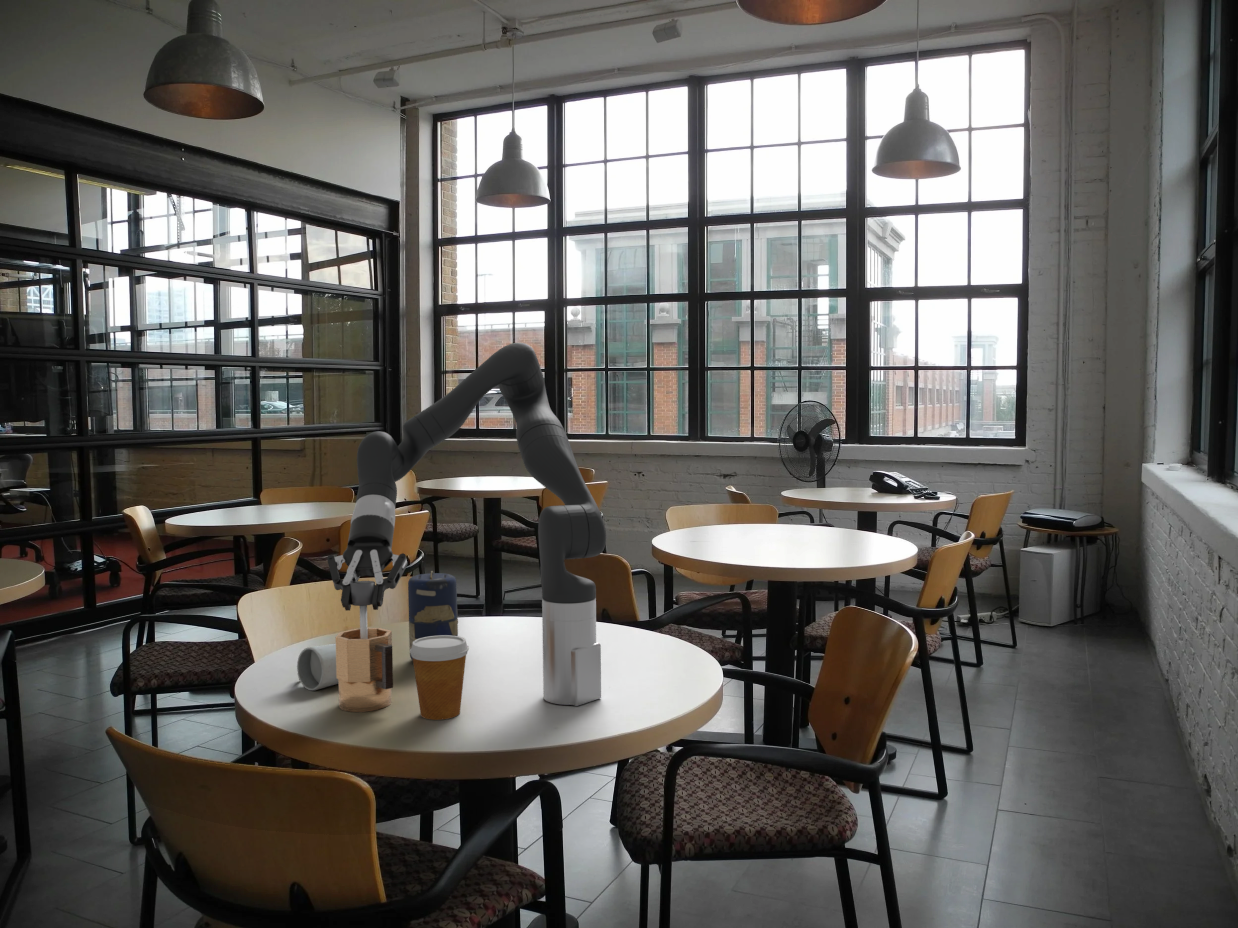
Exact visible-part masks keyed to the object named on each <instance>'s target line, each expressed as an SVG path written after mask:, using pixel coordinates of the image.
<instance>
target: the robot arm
mask: <svg viewBox="0 0 1238 928" xmlns="http://www.w3.org/2000/svg"><path fill="white" fill-rule="evenodd" d="M539 362H540V361H539V360H538V357H537V354H536V352H535V350H534V348H533V347H532V345H529V344H527V343H526V342H525V343H524V342H513V343H509V344H507V345H505V346H503V347H502V348H500V349H498V350H497V351H496V352H494V353H492V355H491V356H489V357H488V358H487V359H486V360H485V361H483V362H482V363H481V364H480V365H479V366H478V367H477V368H475V369H474V370H473V371H472V372H470V374H468V376H466V377H465V378H464V380H462V381H461V382H460V383H459V384H458V385H456V386H455V387H454V388H453V389H452V390H450V391H449V392H448V393H447V394H446V395H444V396H443V397H442V398H440V399H438V400H437V401H436V402H435V403H433V404H431V405H429V406H428V407H427V408H425V409H423V410H422V411H420V412H417V414H414V416H412V417H410V418H409V419H408V420H407V421H406V420H405V422H404V423H403V425H402V432H403V433H402V434H403V439H402V440H401V442H400V443H399V445H397V442H396V441H395V440H394V438H393V437H392V435H390V434H389V433H387V432H385V431H379V430H377V431H373V432H370V433H368V434H367V435H366V436H364V438H362V440H361V442H360V443H359V445H358V447H357V453H356V466H357V469H356V470H357V479H358V490H357V494H356V500H355V506H354V508H353V512H352V516H351V518H350V528H349V534H348V538H347V539H348V540H347V546H346V549H345V550H344V551H343V553H342V555H338V556H334V555H333V554H330V555H327V557H326V559H327V564H328V568H329V571H330V576H331V581H332V583H333V587H334V589H335V590H336V591H341V596H340V597H341V598H340V602H341V606H342V608H344V611H345V612H346V611H351V609H352V608H351V607H352V605H351V585H350V583H352V582H356V581H360V577H365V576H368V577H374V580H375V586H374V592H373V599H372V605H371V606H372V610H374V611H379V608H380V607H382V606H383V603H384V595H385V592H386V590H388V589H390V590H394V589H396V587H397V585H398V583H399V581H400V579H401V577H402V576H403V574H404V572H405V570H406V568H407V566H408V561H407V560H408V559H407V555H406V553H403V552H402V553H400V554H394V551H392V550H393V549H392V547H393V541H394V540H393V539H394V533H395V524H396V505H397V498H398V488H397V483H396V482H398V481H400V480H401V479H403V478H404V477H405V476H406V475H408V473H409V472H411V470H412V469H413V468H414V467H415V465H417V464H418V462H420V460H421V459H422V458H423V457H424V456H425V455H426V454H427V452H429V451H430V450H431V449H433V448H435V447H436V446H438V445H440V444H441V443H443V442H444V441H445V440H447V439H449V438H450V437H452V436H453V435H454V434H455V433H457V432H458V431H459V430H460V428H462V426H463V425H464V424H465V422H466V421H467V419H468V418H469V417H470V416H471V414H472V412H473V411H474V409H475V408H476V406H477V405H478V403H479V402H480V401H481V400H482V399H483V398H484V396H486V394H487V393H489V392H490V391H491V390H492V389H494V388H495V387H498V388H499V391H500V393H501V395H502V397H503V399H504V400H505V402H506V403H507V406H508V407H509V410H510V412H511V414H512V416H513V418H514V421H515V426H516V427H515V429H516V430H515V437H516V443H517V446H518V450H519V453H520V456H521V459H522V463H523V464H524V468H525V469H526V470H527V472H528V473H529V474H530V476H531V477H532V478H534V480H536V481H537V482H538V483H539V484H540V485H542V486H543V487H544V488H545V489H547V490H548V491H550V493H552V494H554V495H555V496H556V497H558V499H560V500H561V502H562V503H563V504H564V505H563V504H562V505H561V504H560V505H551V506H550V505H549V506H546V507H544V508H543V509H542V510H541V512H540V514H539V518H538V525H537V526H538V531H537V532H538V533H537V534H538V547H539V560H540V561H539V562H540V583H541V596H542V597H541V598H542V599H541V601H542V602H541V607H542V609H541V610H542V611H541V612H542V619H541V620H542V624H541V625H542V690H543V691H542V695H543V700H544V701H546V702H548V703H550V704H556V705H565V706H566V705H568V706H569V705H571V706H576V707H577V706H578V707H579V706H581V705H583V704H584V705H585V704H587V703H590V702H593V701H595V700H599V699H602V663H601V662H602V656H601V655H602V650H601V649H602V646H601V643H600V642H597V601H596V600H597V588H596V587H597V586H596V583H595V581H593V580H592V579H589V578H586V577H584V576H579V575H576V574H574V573H572V572H570V571H568V569H566V565H565V560H575V559H586V558H593V557H597V556H600V555H601V554H602V553H603V551H604V549H605V547H606V546H607V545H606V542H607V532H606V531H607V530H606V526H605V521H604V518H603V516H602V513H601V511H600V509H599V507H598V504H597V503H596V501H595V499H594V497H593V495H592V494H591V491H590V489H589V487H588V486H587V484H586V482H585V480H584V477H583V476H582V473H581V471H580V468H579V466H578V464H577V461H576V458H575V455H574V451H573V450H572V446H571V443H570V440H569V438H568V435H567V433H566V431H565V428H564V427H563V425H562V423H561V421H560V420H559V418H558V417H557V416H556V415H555V413H554V412H553V411H552V409H551V407H550V403H549V398H548V395H547V394H548V393H547V390H546V389H547V388H546V383H545V378H544V374H543V372H542V369H541V366H540V363H539ZM343 563H345V565H346V566H347V569H346V574H345V575H344V578H341V577H340V573H339V570H341V568H342V565H343ZM391 563H392V568H391V569H390V571H389V573H388V575H387V577H385V578H384V576H383V571H384V570H385V569H386V568H387V567H388V566H389V565H390V564H391Z"/></svg>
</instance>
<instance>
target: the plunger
mask: <svg viewBox="0 0 1238 928" xmlns="http://www.w3.org/2000/svg"><path fill="white" fill-rule="evenodd" d="M350 585H351V606H354V607H359V628H360V639H368V629H367V628H368V606H372V599H373V592H374V586H375V585H376V581H374V580H358V581H356V582H352V583H350Z"/></svg>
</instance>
